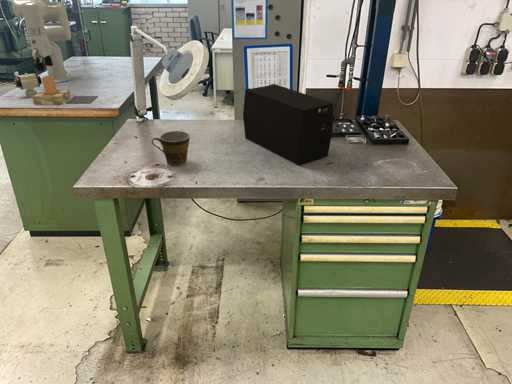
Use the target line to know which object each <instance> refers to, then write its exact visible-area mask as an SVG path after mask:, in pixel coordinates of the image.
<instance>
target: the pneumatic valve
mask: <svg viewBox="0 0 512 384" xmlns="http://www.w3.org/2000/svg"><path fill="white" fill-rule="evenodd" d="M13 82H14V85H15V88H16V89H17V88H19V89H20V90H23V91H24V90H25V91H24V94H25V96H26V97H28V98H32V97H33V96H34V95H36V94H37V93H38V91H37V89H35V88H40V87H41V85H42V84H43V82H42V77H41V76H40V75H38V74H37V73H35V72H33V73H27V72H25V73H24V74H21V75H20V74H19V75H15V78H13Z"/></svg>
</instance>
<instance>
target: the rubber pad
mask: <svg viewBox="0 0 512 384" xmlns="http://www.w3.org/2000/svg"><path fill="white" fill-rule="evenodd" d="M98 97H99V95H74V96H73V97H71V98H69V99H68V100H67V101H65V104H81V105H83V104H85V105H86V104H89V105H90V104H91V103H93V102H94V101H95V100H96V99H97V98H98Z"/></svg>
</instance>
